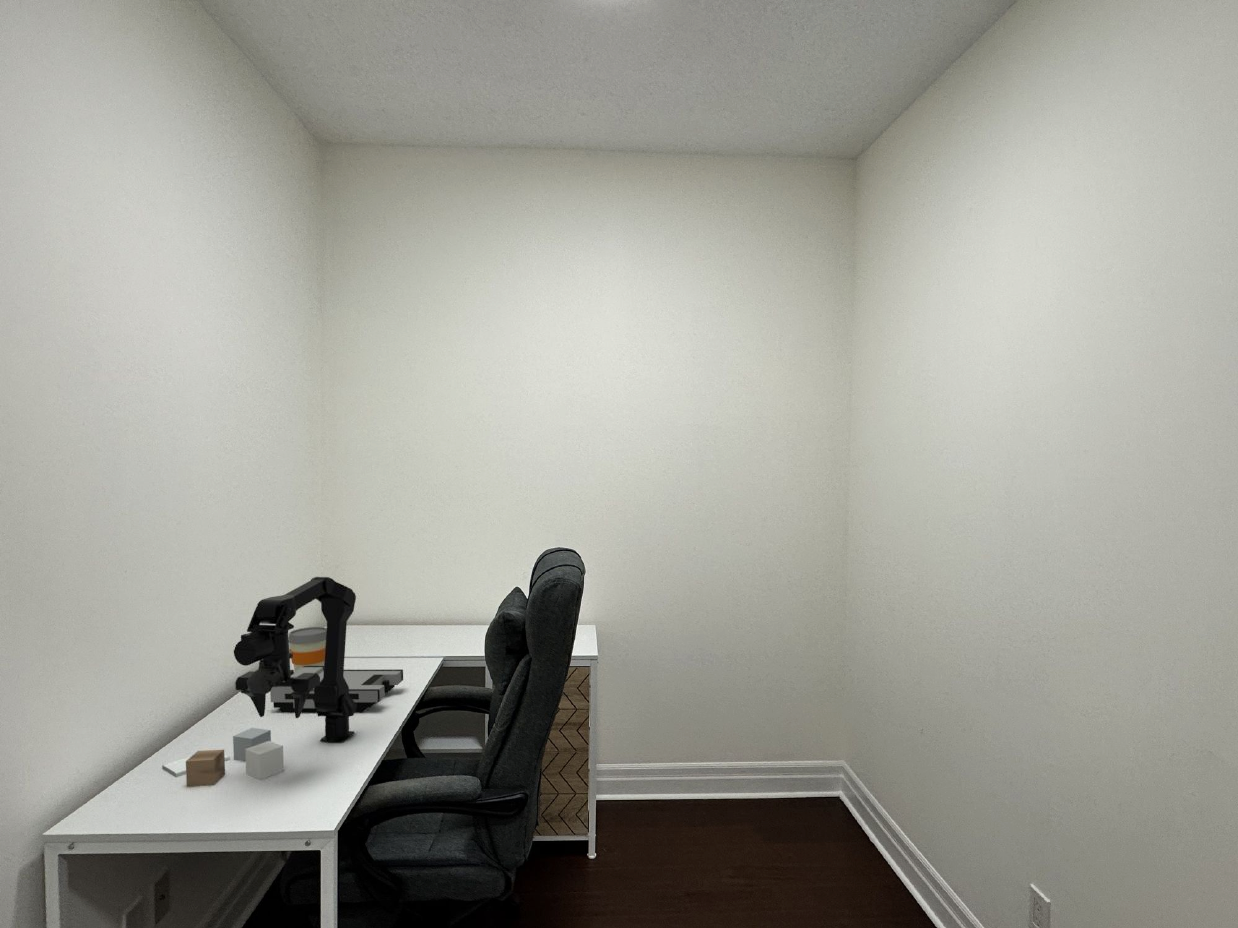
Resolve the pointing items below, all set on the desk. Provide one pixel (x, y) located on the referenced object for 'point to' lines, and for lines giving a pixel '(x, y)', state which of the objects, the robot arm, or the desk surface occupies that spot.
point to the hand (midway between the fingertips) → (279, 716)
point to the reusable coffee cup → (308, 646)
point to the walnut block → (205, 768)
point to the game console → (362, 684)
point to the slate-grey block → (249, 741)
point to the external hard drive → (181, 766)
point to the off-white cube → (264, 759)
